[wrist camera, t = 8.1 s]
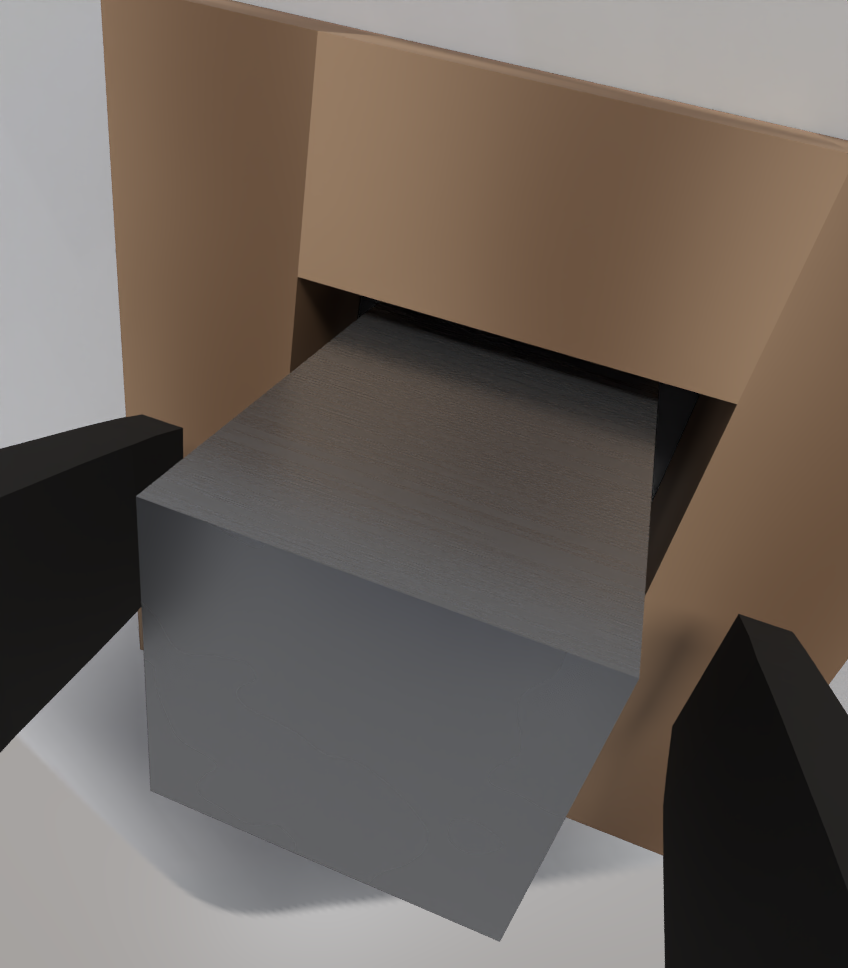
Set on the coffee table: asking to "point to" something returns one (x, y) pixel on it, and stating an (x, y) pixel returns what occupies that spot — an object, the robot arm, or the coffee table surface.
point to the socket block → (506, 289)
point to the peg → (402, 606)
